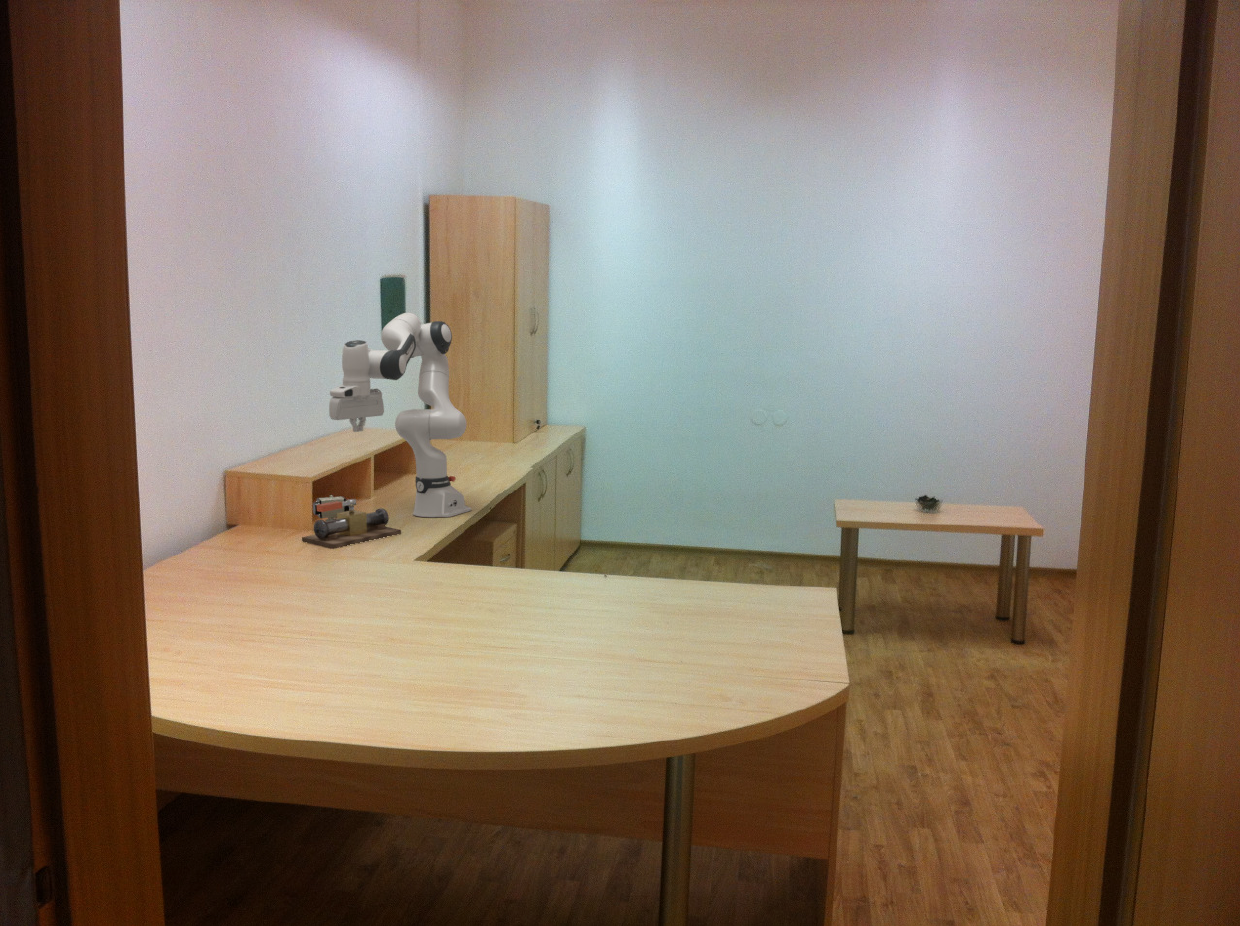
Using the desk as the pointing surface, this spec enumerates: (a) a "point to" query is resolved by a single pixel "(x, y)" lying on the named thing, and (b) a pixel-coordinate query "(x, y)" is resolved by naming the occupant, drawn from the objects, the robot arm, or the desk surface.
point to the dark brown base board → (352, 537)
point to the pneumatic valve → (332, 513)
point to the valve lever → (335, 505)
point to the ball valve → (350, 523)
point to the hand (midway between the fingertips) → (358, 431)
